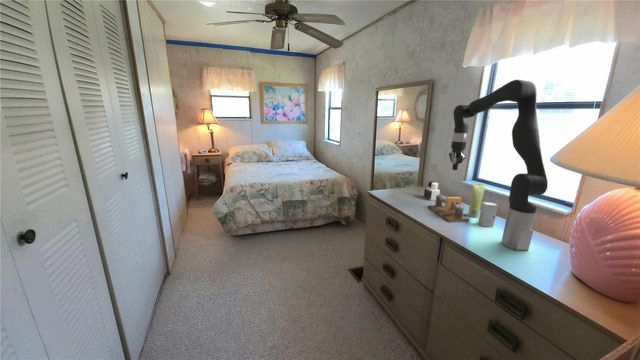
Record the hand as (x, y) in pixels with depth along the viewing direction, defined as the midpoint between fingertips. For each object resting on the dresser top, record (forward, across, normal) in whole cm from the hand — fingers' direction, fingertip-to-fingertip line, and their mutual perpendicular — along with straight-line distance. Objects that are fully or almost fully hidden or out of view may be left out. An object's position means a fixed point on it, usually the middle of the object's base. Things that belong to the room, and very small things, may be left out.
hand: (454, 169), depth 154 cm
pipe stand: (+25, -8, +6) cm, 27 cm away
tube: (+25, -12, -8) cm, 29 cm away
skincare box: (+25, -24, -6) cm, 35 cm away
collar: (+22, -12, +6) cm, 26 cm away
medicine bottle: (+25, +20, 0) cm, 32 cm away
